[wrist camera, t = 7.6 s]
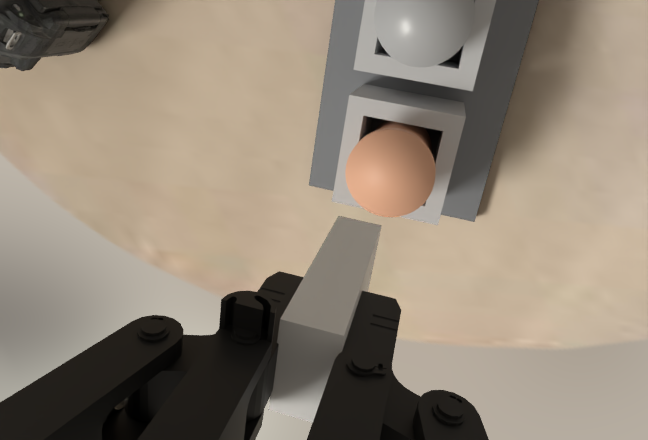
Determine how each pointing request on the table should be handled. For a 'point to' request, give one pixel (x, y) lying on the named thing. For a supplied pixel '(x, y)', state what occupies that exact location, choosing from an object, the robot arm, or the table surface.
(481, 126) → the panel
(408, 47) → the plug grey
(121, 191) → the table surface
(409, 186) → the plug terracotta
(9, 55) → the camera
